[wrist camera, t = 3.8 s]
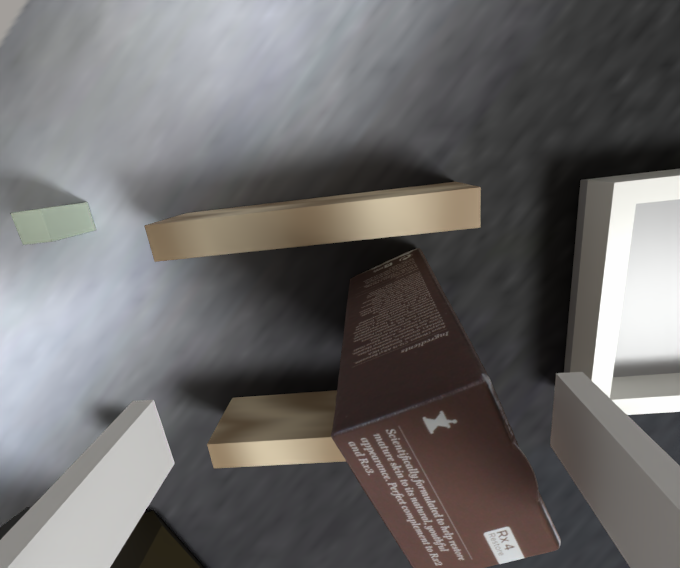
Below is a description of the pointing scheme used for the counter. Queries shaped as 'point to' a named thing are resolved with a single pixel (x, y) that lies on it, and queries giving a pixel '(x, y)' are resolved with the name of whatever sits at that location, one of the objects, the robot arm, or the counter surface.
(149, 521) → the bottle
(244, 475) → the counter surface
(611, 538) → the robot arm
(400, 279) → the box
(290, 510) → the counter surface
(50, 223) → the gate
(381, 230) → the channel
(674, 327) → the tray
